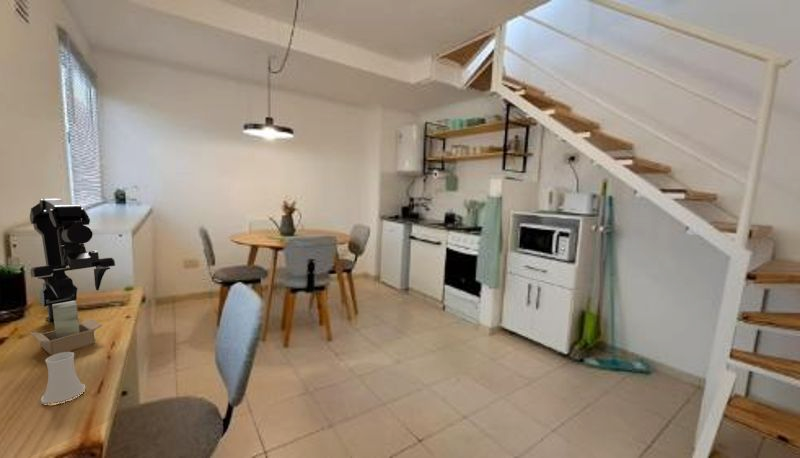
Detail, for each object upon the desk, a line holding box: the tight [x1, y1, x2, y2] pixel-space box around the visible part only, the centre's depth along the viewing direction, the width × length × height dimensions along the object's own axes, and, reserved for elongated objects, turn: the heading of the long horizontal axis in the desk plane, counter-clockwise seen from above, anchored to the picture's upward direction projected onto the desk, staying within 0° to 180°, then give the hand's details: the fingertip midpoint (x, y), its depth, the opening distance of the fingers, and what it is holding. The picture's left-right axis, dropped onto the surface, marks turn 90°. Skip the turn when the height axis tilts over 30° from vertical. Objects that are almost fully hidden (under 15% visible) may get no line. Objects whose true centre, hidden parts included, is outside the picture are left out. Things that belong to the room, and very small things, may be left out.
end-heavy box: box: [52, 300, 80, 339], centre depth 105 cm, size 5×5×13 cm
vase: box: [40, 351, 86, 405], centre depth 81 cm, size 8×8×10 cm
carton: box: [29, 317, 102, 356], centre depth 105 cm, size 12×14×5 cm
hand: (78, 293), depth 109 cm, fingers open, 9 cm apart
